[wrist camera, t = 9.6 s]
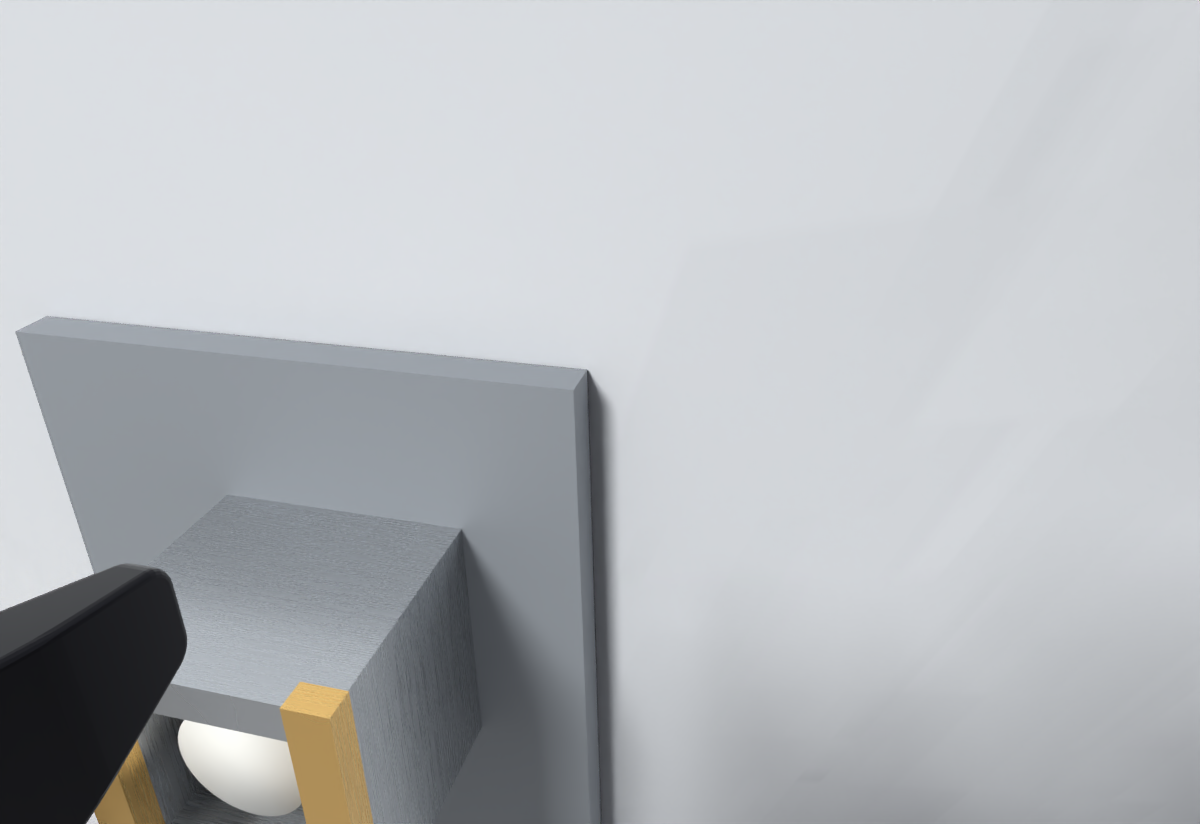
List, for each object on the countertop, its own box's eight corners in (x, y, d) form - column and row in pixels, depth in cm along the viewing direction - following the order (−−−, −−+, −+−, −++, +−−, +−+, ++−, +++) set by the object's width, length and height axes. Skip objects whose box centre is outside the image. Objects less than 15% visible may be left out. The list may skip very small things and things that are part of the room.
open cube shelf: (484, 728, 25) (374, 944, 20) (270, 685, 27) (118, 875, 22) (462, 527, 22) (329, 718, 17) (224, 492, 24) (36, 658, 19)
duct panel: (586, 369, 21) (482, 524, 16) (603, 914, 29) (539, 1131, 24) (47, 316, 24) (-184, 428, 19) (200, 817, 32) (69, 988, 27)
